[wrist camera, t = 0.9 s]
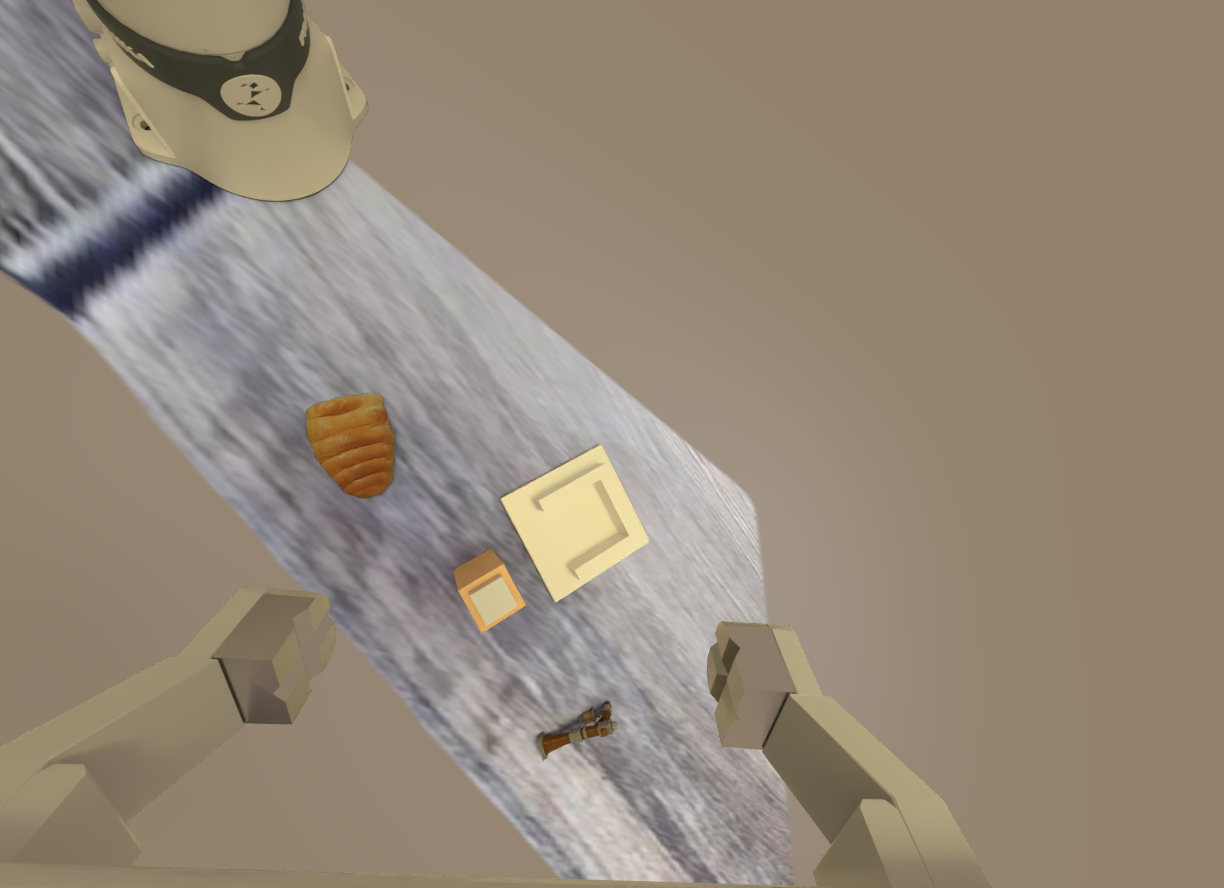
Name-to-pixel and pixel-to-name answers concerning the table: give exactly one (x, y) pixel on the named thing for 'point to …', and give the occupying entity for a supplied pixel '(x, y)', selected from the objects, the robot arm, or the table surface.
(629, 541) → the holder
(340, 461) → the pastry
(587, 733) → the wooden post with brackets
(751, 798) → the table surface
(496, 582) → the block
